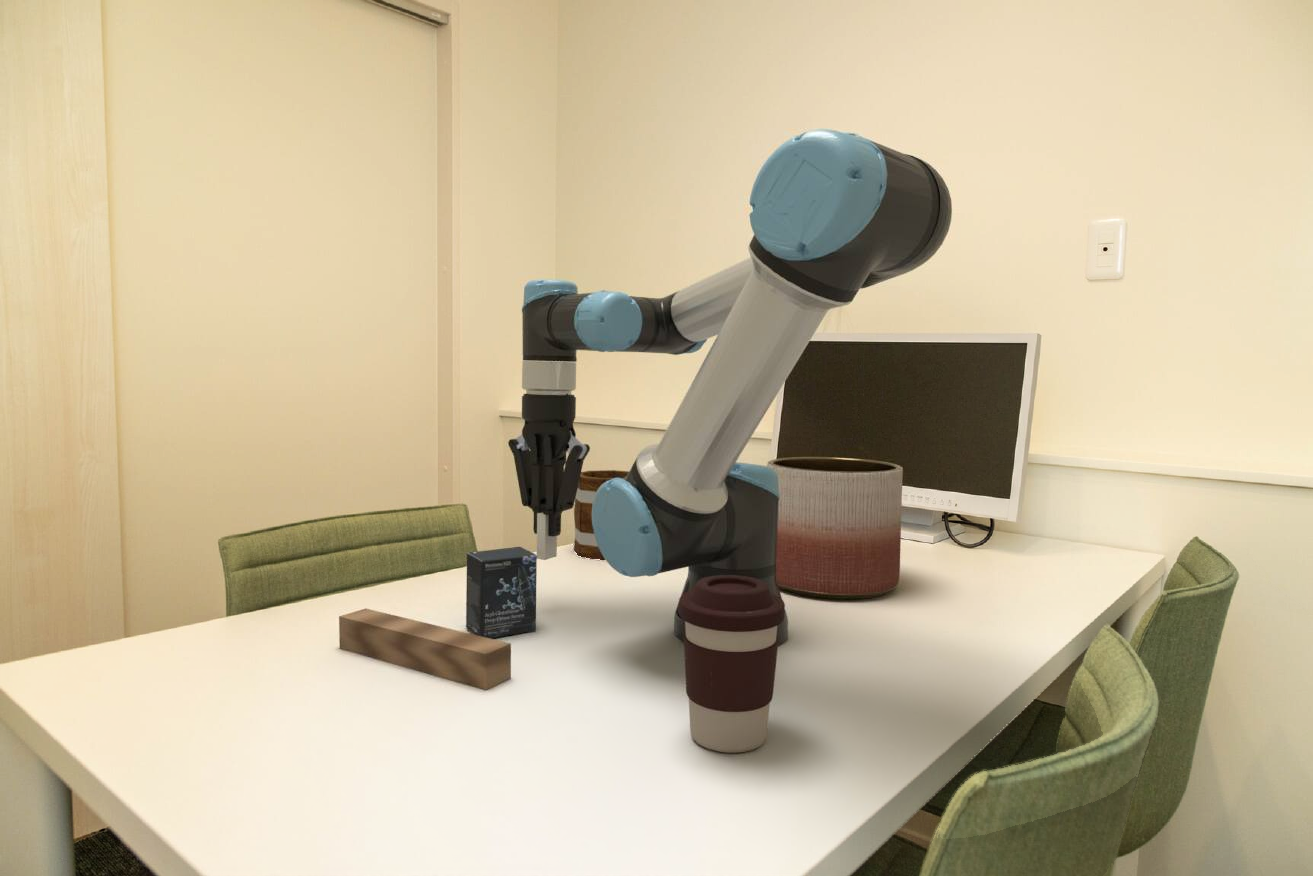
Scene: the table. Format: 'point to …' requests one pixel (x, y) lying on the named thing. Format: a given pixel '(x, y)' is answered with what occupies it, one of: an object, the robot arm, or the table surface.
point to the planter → (838, 526)
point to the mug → (589, 510)
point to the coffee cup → (730, 660)
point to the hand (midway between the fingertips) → (546, 557)
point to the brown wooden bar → (426, 648)
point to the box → (501, 592)
